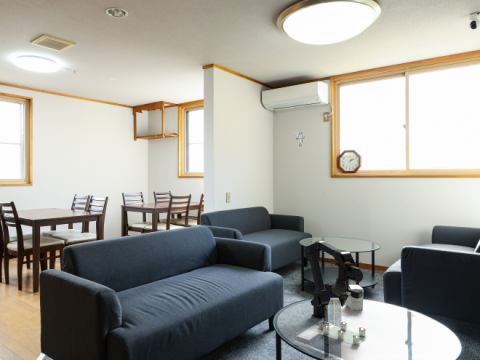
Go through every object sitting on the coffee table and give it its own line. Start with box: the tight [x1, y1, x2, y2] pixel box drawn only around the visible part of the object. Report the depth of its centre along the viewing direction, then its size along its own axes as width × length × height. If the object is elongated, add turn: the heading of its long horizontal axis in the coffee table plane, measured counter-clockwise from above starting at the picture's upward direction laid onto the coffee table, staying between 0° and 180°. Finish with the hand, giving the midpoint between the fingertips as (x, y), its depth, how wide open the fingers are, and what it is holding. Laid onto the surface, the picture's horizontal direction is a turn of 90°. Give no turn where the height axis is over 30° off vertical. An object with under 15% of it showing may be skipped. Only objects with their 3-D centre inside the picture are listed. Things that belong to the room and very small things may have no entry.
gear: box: [318, 320, 330, 331], centre depth 172 cm, size 6×6×3 cm
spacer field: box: [323, 321, 366, 347], centre depth 166 cm, size 18×13×4 cm
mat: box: [313, 323, 368, 346], centre depth 167 cm, size 22×13×1 cm, turn 50°
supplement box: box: [345, 284, 364, 311], centre depth 202 cm, size 7×7×13 cm
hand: (342, 306), depth 173 cm, fingers closed
